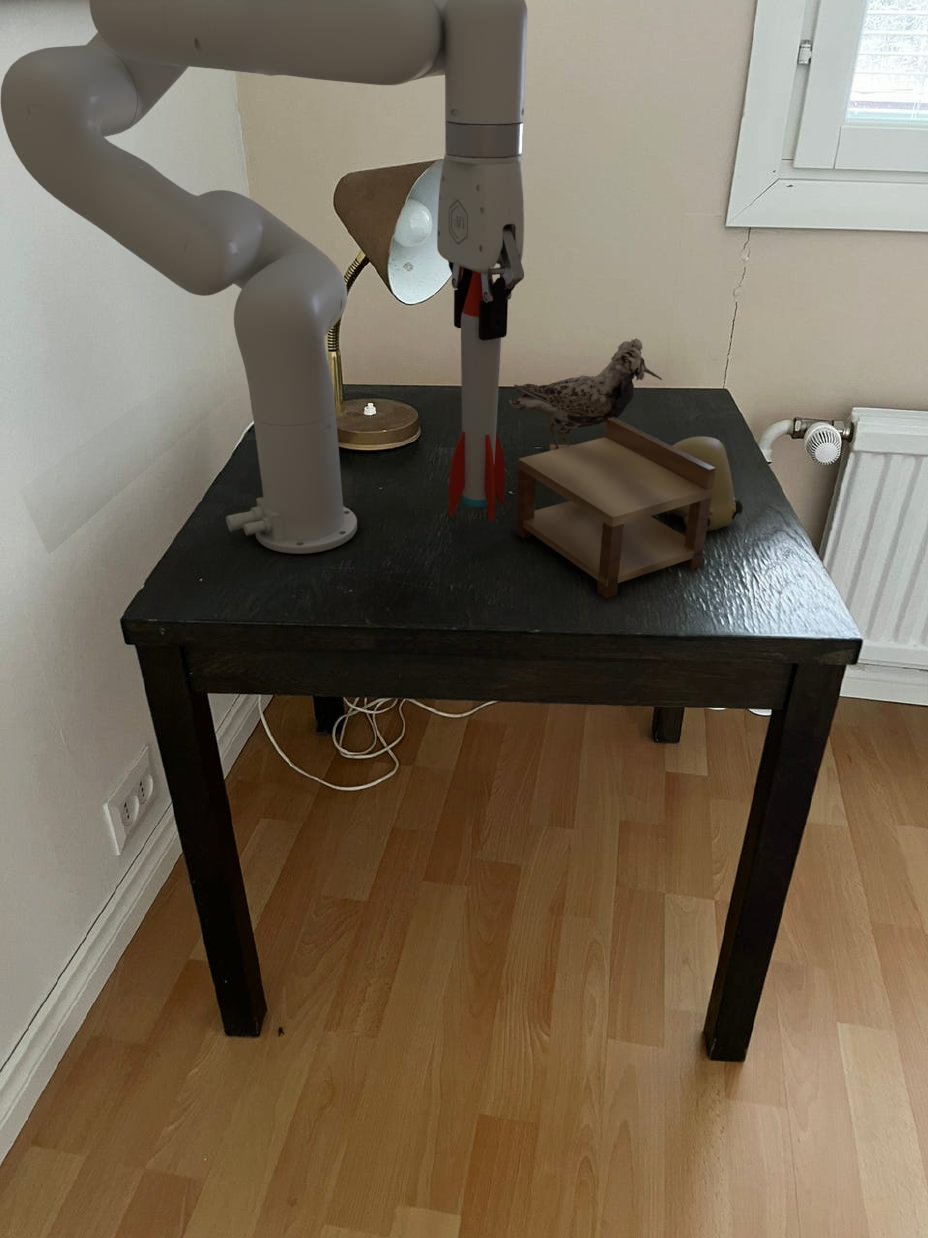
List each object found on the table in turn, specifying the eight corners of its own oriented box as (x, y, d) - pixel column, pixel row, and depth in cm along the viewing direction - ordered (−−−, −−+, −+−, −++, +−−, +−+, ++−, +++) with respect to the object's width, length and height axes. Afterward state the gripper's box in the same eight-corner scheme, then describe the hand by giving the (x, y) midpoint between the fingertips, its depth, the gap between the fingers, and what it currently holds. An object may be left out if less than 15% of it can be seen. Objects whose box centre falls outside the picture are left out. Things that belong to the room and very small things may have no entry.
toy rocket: (492, 523, 111) (503, 253, 94) (447, 516, 112) (449, 248, 96) (505, 503, 115) (517, 242, 99) (462, 496, 116) (466, 237, 100)
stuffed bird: (657, 466, 135) (671, 345, 126) (524, 483, 130) (528, 359, 121) (628, 441, 143) (639, 325, 134) (501, 455, 138) (504, 337, 129)
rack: (605, 598, 105) (614, 496, 98) (515, 533, 118) (518, 439, 111) (701, 566, 111) (716, 467, 104) (605, 507, 124) (613, 416, 117)
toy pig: (661, 549, 122) (703, 526, 112) (632, 462, 123) (671, 431, 113) (725, 533, 125) (771, 509, 115) (696, 448, 126) (740, 416, 116)
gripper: (408, 135, 96) (412, 317, 106) (497, 155, 84) (492, 358, 94) (471, 131, 100) (469, 309, 110) (566, 150, 88) (554, 347, 98)
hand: (480, 330), depth 102 cm, fingers closed on toy rocket, 4 cm apart
